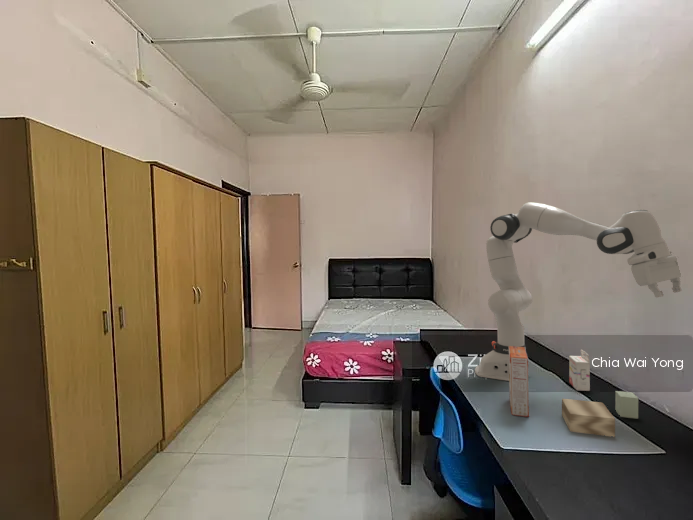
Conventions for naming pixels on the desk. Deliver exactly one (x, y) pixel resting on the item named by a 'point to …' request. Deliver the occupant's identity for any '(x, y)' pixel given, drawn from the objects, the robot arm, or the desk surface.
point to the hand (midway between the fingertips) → (668, 294)
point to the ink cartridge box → (579, 371)
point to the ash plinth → (588, 417)
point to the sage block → (626, 404)
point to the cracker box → (518, 381)
